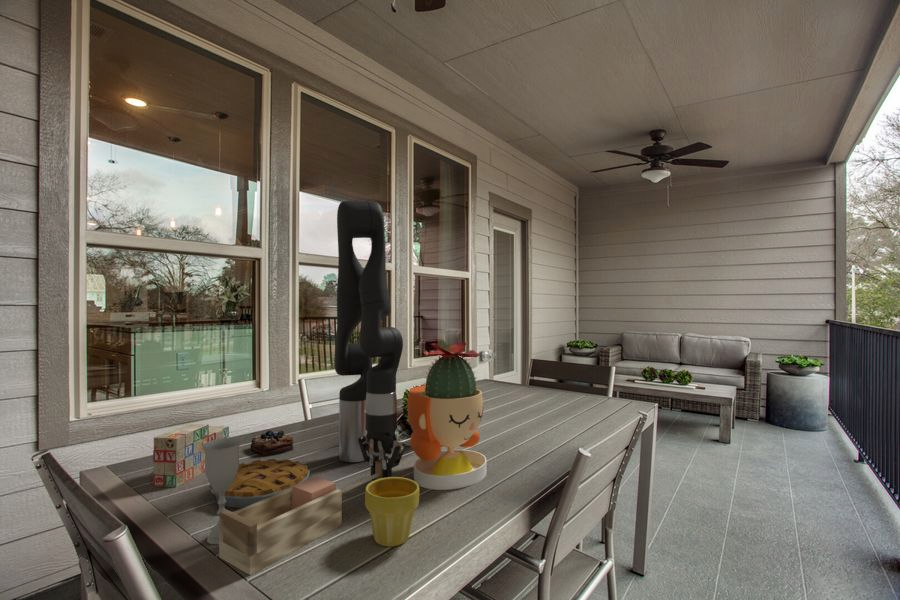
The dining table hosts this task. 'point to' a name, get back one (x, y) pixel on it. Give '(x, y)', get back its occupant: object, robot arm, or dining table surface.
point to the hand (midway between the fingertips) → (381, 481)
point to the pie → (263, 481)
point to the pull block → (325, 487)
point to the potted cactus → (447, 422)
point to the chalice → (221, 472)
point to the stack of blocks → (183, 453)
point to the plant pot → (391, 508)
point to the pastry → (271, 443)
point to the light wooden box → (275, 528)
